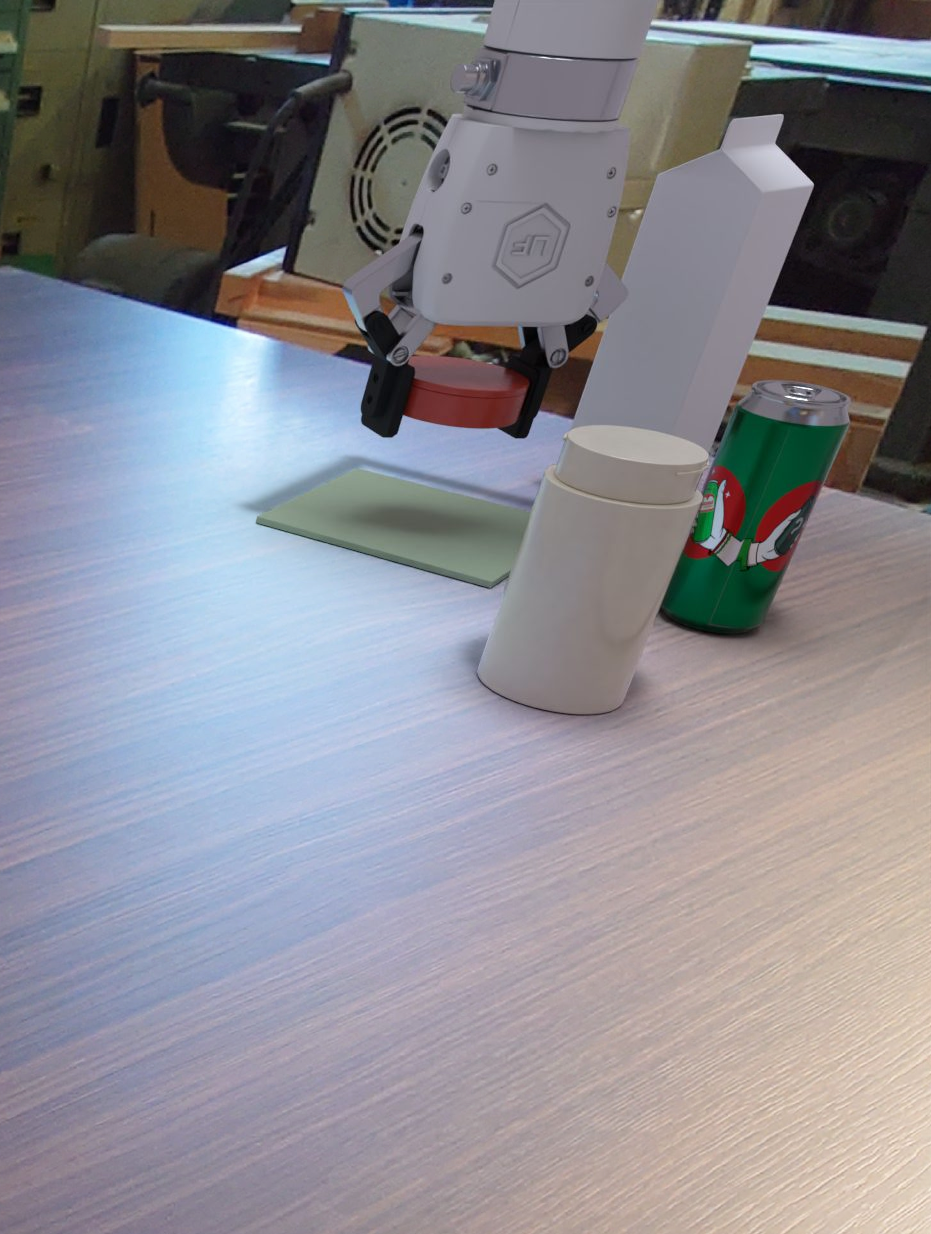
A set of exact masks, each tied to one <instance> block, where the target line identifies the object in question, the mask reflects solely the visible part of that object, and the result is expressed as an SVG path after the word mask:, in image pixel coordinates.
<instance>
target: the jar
mask: <svg viewBox="0 0 931 1234" xmlns="http://www.w3.org/2000/svg"><path fill="white" fill-rule="evenodd" d="M562 441H563V444H562V447H561V450H560V454H559V456H558V459H557V462H556V463H554V464H551V465H550V466H547V467H546V469H545V470H544V471H543V475H542V477H541V481H540V482H539V486H538V489H537V493H536V495H535V498H534V501H533V504H532V507H531V510H530V512H531V513H530V516H529V518H528V521H527V524H526V527H525V530H524V533H523V536H522V539H521V542H520V545H519V548H518V551H517V554H516V557H515V560H514V563H513V566H512V569H511V572H510V575H509V576H508V577H507V580H506V584H505V587H504V589H503V592H502V595H501V598H500V602H499V604H498V607H497V611H496V613H495V615H494V619H493V622H492V625H491V627H490V631H489V634H488V637H487V640H486V642H485V646H484V650H483V651H482V655H481V658H480V660H479V664H478V666H477V670H476V671H477V672H476V674H477V677H478V678H479V680H480V681H481V682H482V684H483V685H485V686H486V687H487V688H488V689H490V690H491V691H493V692H494V693H496V694H498V695H500V696H502V697H504V698H506V699H508V700H510V701H514V702H516V703H519V704H521V705H525V706H528V707H532V708H535V709H539V710H543V711H549V712H555V713H560V714H571V715H599V714H606V713H608V712H612V711H615V710H617V709H618V708H619V707H621V705H623V703H624V701H625V698H626V696H627V693H628V690H629V688H630V685H631V683H632V681H633V678H634V675H635V673H636V670H637V668H638V665H639V663H640V661H641V658H642V655H643V653H644V650H645V648H646V645H647V643H648V640H649V638H650V635H651V632H652V630H653V627H654V625H655V622H656V621H657V620H656V619H657V617H658V615H659V612H660V609H661V608H662V606H661V605H662V602H663V600H664V597H665V595H666V592H667V589H668V587H669V584H670V582H671V579H672V577H673V574H674V572H675V569H676V567H677V564H678V562H679V559H680V557H681V554H682V552H683V549H684V547H685V544H686V541H687V539H688V536H689V534H690V531H691V529H692V526H693V524H694V521H695V519H696V516H697V514H698V511H699V509H700V506H701V504H702V501H703V495H702V493H701V491H700V490H699V488H698V486H699V484H700V482H701V479H702V476H703V474H704V472H706V471H707V470H708V469H709V467H710V453H709V454H708V452H707V451H706V450H705V449H704V448H702V447H700V446H699V445H697V444H695V443H693V442H690V441H688V440H685V439H682V438H679V437H676V436H673V435H669V434H665V433H661V432H656V431H651V430H646V429H640V428H633V427H624V426H611V425H591V426H582V427H577V428H574V429H572V430H570V429H569V430H568V431H566V432H564V434H563V437H562Z"/></svg>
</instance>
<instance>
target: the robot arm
mask: <svg viewBox="0 0 931 1234" xmlns="http://www.w3.org/2000/svg"><path fill="white" fill-rule="evenodd" d="M659 1H660V0H494V2H493V6H492V9H491V12H490V16H489V19H488V25H487V27H486V30H485V34H484V38H483V41H482V45H481V47H480V48H478V49H477V53H476V55H475V59H474V61H471V63H459V64H458V65H456V67H455V68H454V70H453V71H452V74H451V78H450V82H449V85H450V89H451V91H452V92H453V93H459V94H460V93H461V94H462V93H463V94H464V98H463V104H464V107H463V111H462V113H453V114H451V116H450V118H449V120H448V121H447V124H446V126H445V127H444V130H443V131H442V133H441V135H440V137H439V140H438V141H437V144H436V146H435V147H434V150H433V152H432V154H431V156H430V158H429V160H428V164H427V166H426V168H425V170H424V173H423V175H422V177H421V180H420V183H419V185H418V188H417V191H416V193H415V195H414V198H413V200H412V203H411V207H410V209H409V211H408V215H407V218H406V221H405V223H404V227H403V230H402V233H401V236H400V239H399V242H398V243H397V244H396V245H394V246H393V247H391V248H390V249H387V251H386V252H384V253H382V254H381V255H379V256H378V257H377V258H376V259H374V260H372V261H371V262H369V263H368V264H366V265H365V266H364V267H362V268H360V269H359V270H358V271H357V272H355V273H353V274H352V275H350V276H349V277H348V278H347V279H346V280H344V282H343V284H342V287H341V288H342V293H343V295H344V298H345V300H346V302H347V305H348V307H349V310H350V312H351V314H352V315H353V317H354V324H355V326H356V328H357V329H358V330H359V332H360V334H361V336H362V337H363V339H364V341H365V342H366V343H367V350H368V351H369V352H370V353H371V354H373V355H374V356H373V359H372V363H371V367H370V371H369V374H368V378H367V382H366V384H365V388H364V391H363V395H362V399H361V403H360V413H361V417H360V423H361V424H362V426H364V427H366V428H367V429H369V430H370V431H371V432H373V433H374V434H376V435H378V436H380V437H381V438H383V439H385V438H387V439H389V438H390V439H391V438H392V439H393V438H394V437H395V436H397V435H398V434H399V430H400V426H401V424H402V420H403V417H404V415H403V414H404V410H405V407H406V403H407V400H408V397H409V393H410V390H411V386H412V383H413V380H414V376H415V368H414V367H413V366H411V365H409V364H408V362H409V359H410V358H411V357H412V356H414V355H415V353H416V352H417V350H418V349H419V348H420V347H421V346H422V344H423V343H424V342H425V341H426V340H427V339H428V337H429V336H430V335H431V334H432V332H433V331H434V330H435V328H436V327H438V325H445V326H458V327H459V326H463V327H514V328H515V327H517V333H518V337H519V343H520V347H521V352H520V353H519V354H517V353H515V354H514V353H512V354H511V355H510V358H508V360H507V362H506V365H505V368H507V369H510V370H513V371H515V372H518V373H519V374H521V375H523V376H525V377H526V378H527V379H528V380H529V382H530V383H529V387H528V390H527V393H526V396H525V399H524V402H523V405H522V408H521V411H520V414H519V417H518V420H517V421H516V423H514V424H513V425H510V426H507V427H501V428H497V430H499V431H501V432H503V433H505V434H507V435H509V436H510V437H512V438H514V439H518V440H519V439H520V440H521V439H523V440H524V439H526V438H527V437H528V436H529V435H530V433H531V432H530V431H531V429H532V426H533V423H534V420H535V418H536V417H537V416H538V414H539V411H540V409H541V405H542V403H543V399H544V396H545V393H546V391H547V388H548V385H549V381H550V379H551V377H552V373H553V370H554V369H558V368H561V367H562V366H564V365H565V363H566V362H567V360H568V359H569V357H570V356H569V355H570V353H571V352H572V351H574V350H575V349H576V348H578V347H579V346H580V345H581V344H583V342H585V341H586V340H587V339H588V338H590V337H591V336H592V335H593V334H594V333H595V332H596V330H597V328H598V325H599V324H600V323H601V324H602V323H603V322H604V321H605V320H606V319H608V318H609V315H610V314H611V313H612V312H613V311H614V310H615V309H616V308H617V307H618V306H620V305H621V304H622V303H623V302H624V300H625V299H626V298H627V295H628V290H627V288H626V287H625V285H624V284H623V283H622V281H621V280H622V279H620V278H619V276H618V275H617V273H616V272H615V271H614V269H612V266H610V264H609V263H608V262H607V259H608V258H607V257H608V253H609V252H610V247H611V243H612V239H613V236H614V232H615V227H616V223H617V220H618V215H619V211H620V207H621V201H622V199H623V198H622V197H623V192H624V187H625V181H626V176H627V169H628V161H629V153H630V144H631V132H632V129H631V127H628V126H625V125H621V124H619V120H620V117H621V116H622V112H623V109H624V106H625V103H626V100H627V98H628V93H629V91H630V88H631V84H632V82H633V78H634V76H635V73H636V70H637V66H638V63H639V62H640V61H639V60H640V59H639V58H640V57H641V56H642V51H643V48H644V46H645V42H646V39H647V38H648V37H647V36H648V34H649V30H650V28H651V24H652V21H653V19H654V15H655V13H656V9H657V6H658V4H659ZM387 288H388V289H387ZM385 289H387V290H388V291H387V293H388V294H387V295H388V298H389V299H390V300H391V301H392V302H393V303H395V304H396V305H395V306H394V307H393V309H392V310H391V311H390V313H389V314H386V313H385V311H384V308H383V307H382V306H383V304H382V301H381V296H382V295H381V294H382V293H383V291H384V290H385Z"/></svg>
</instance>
